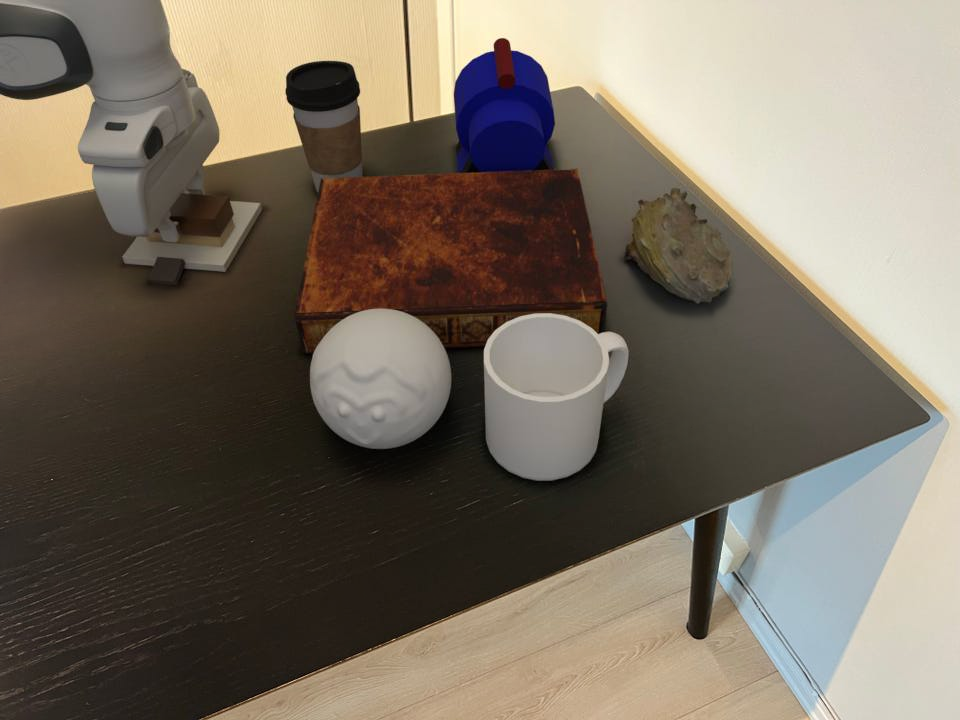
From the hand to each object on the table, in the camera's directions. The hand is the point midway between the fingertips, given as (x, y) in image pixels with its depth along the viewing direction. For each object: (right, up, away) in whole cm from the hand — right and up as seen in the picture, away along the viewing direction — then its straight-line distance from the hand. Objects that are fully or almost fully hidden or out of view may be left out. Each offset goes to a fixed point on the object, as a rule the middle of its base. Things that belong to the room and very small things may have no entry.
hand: (186, 220), depth 90 cm
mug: (+40, -22, -19) cm, 50 cm away
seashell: (+55, -6, -4) cm, 55 cm away
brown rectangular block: (0, -1, +1) cm, 2 cm away
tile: (0, -1, +3) cm, 3 cm away
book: (+30, -6, -3) cm, 31 cm away
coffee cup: (+16, +6, +9) cm, 19 cm away
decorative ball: (+25, -22, -18) cm, 38 cm away
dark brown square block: (-1, -6, -3) cm, 7 cm away
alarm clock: (+37, +9, +12) cm, 40 cm away
